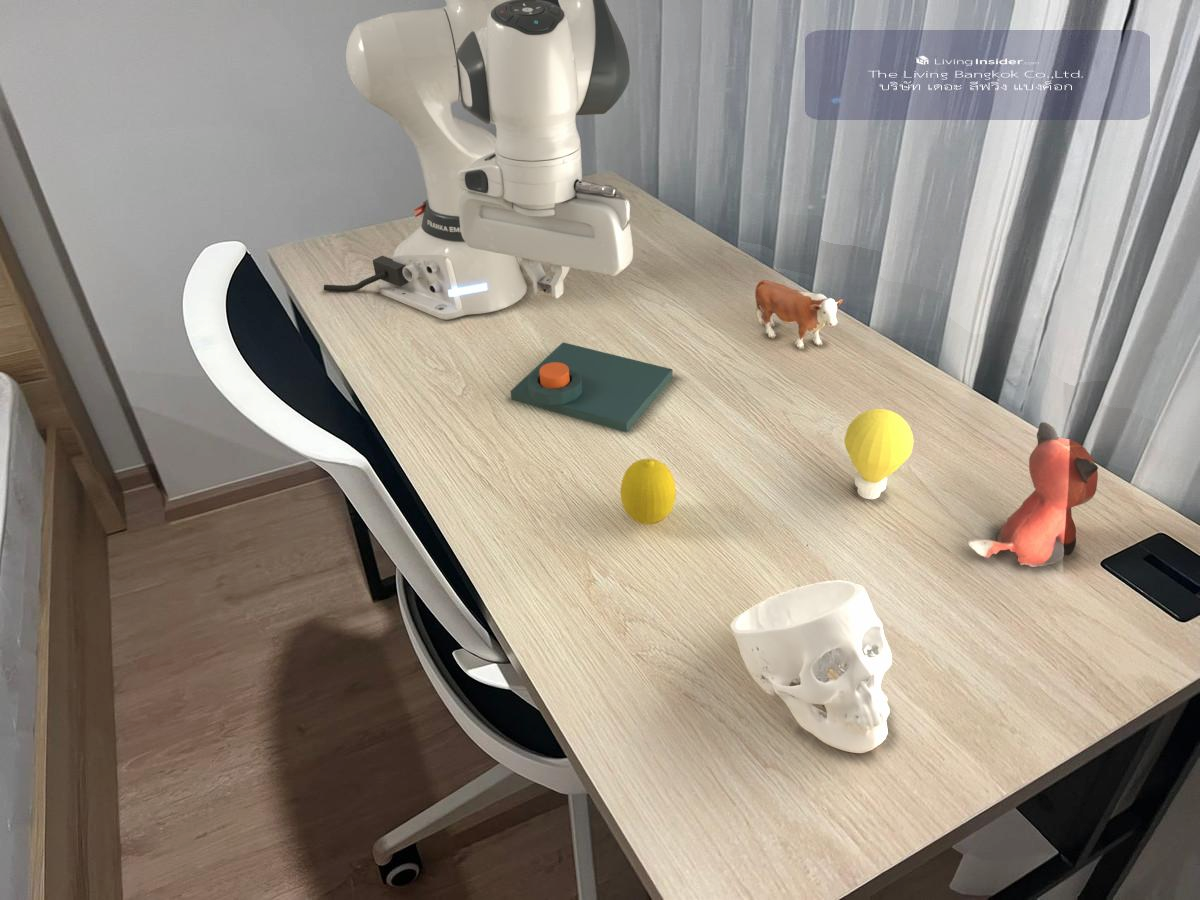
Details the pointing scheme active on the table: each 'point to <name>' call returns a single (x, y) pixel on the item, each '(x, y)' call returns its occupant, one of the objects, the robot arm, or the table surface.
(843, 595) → the skull bowl
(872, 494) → the light bulb
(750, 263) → the table surface
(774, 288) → the bull figurine
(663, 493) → the lemon
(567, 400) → the scale
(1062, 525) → the stuffed fox
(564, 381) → the button
